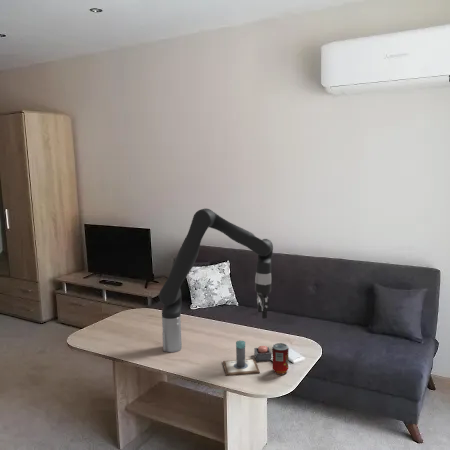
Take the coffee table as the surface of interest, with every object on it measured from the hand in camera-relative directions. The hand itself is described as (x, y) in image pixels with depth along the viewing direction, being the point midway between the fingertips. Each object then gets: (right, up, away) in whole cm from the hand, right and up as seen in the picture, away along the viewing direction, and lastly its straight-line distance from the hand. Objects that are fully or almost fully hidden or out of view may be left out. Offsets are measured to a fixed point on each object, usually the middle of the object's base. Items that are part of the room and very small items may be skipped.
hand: (262, 315), depth 212 cm
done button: (0, -18, +2) cm, 18 cm away
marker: (-10, -21, -8) cm, 25 cm away
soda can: (+7, -23, -12) cm, 27 cm away
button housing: (+1, -21, +2) cm, 21 cm away
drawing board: (-10, -22, -8) cm, 26 cm away
